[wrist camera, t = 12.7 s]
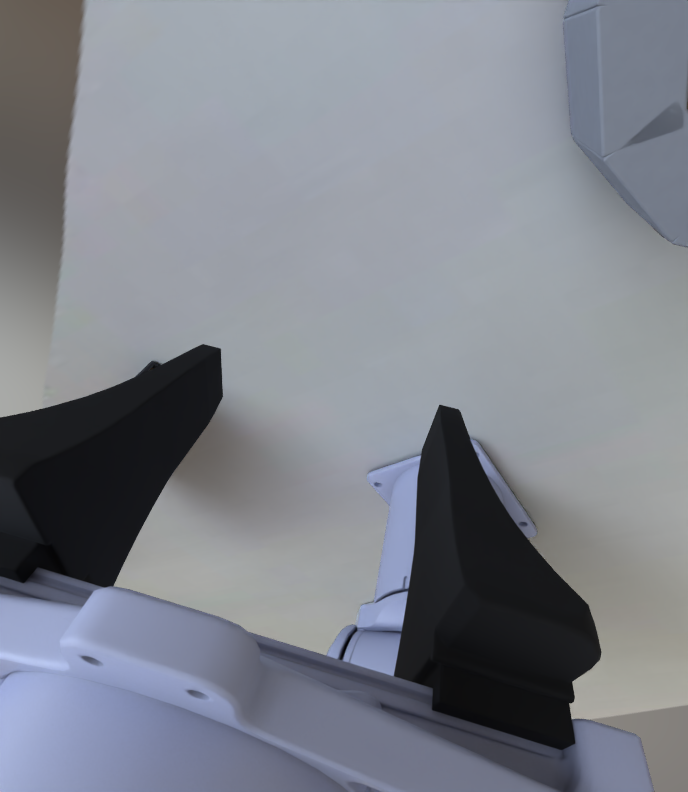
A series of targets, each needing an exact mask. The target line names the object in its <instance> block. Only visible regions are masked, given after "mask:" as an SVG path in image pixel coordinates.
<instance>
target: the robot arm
mask: <svg viewBox="0 0 688 792" xmlns="http://www.w3.org/2000/svg"><path fill="white" fill-rule="evenodd" d="M222 397H223V390H222V368H221V349H220V348H216V347H212V346H208V345H204V344H202V345H200V346H198V347H196V348H194V349H192V350H190V351H188V352H186V353H184V354H182V355H180V356H178V357H176V358H174V359H172V360H170V361H168V362H166V363H164V364H162V365H160V366H158V367H156V368H154V369H152V370H150V371H148V372H146V373H143V374H141V375H139V376H137V377H134V378H132V379H130V380H128V381H125V382H123V383H121V384H119V385H116V386H114V387H111V388H108V389H106V390H103V391H100V392H97V393H95V394H92V395H89V396H86V397H83V398H80V399H76V400H73V401H69V402H66V403H62V404H58V405H55V406H51V407H48V408H44V409H39V410H35V411H31V412H26V413H22V414H17V415H12V416H7V417H1V418H0V792H654V788H653V784H652V781H651V777H650V773H649V769H648V765H647V761H646V758H645V753H644V750H643V746H642V742H641V738H640V737H638V736H637V735H636V734H634V733H631V732H628V731H625V730H621V729H618V728H615V727H611V726H608V725H605V724H602V723H598V722H595V721H591V720H586V719H571V713H570V707H569V703H572V702H574V698H575V696H574V691H573V685H572V681H574V680H575V679H577V678H578V677H580V676H581V675H583V674H584V673H585V672H587V671H588V670H590V669H591V668H592V667H593V666H594V665H595V664H596V663H597V662H598V661H599V660H600V657H601V648H600V644H599V639H598V635H597V631H596V627H595V623H594V621H593V618H592V615H591V612H590V609H589V605H588V604H587V603H586V602H585V601H584V600H583V599H582V598H581V597H580V596H579V595H578V594H577V593H576V592H575V591H574V590H573V589H572V588H571V587H570V586H569V585H568V584H567V583H566V582H565V581H564V580H563V579H562V578H561V577H560V576H559V575H558V574H557V573H556V572H555V571H554V570H553V568H552V567H551V566H550V565H549V564H548V563H547V562H546V561H545V559H544V558H543V557H542V556H541V555H540V554H539V552H538V551H537V550H536V549H535V548H534V546H533V545H532V544H531V543H530V541H529V540H528V539H527V538H530V537H534V536H536V535H537V528H536V526H535V525H534V523H533V522H532V520H531V519H530V518H529V516H528V515H527V513H526V512H525V510H524V509H523V507H522V506H521V504H520V503H519V501H518V500H517V498H516V497H515V495H514V494H513V493H512V491H511V490H510V488H509V487H508V485H507V484H506V482H505V481H504V479H503V478H502V476H501V475H500V473H499V472H498V471H497V469H496V468H495V466H494V465H493V463H492V462H491V460H490V459H489V457H488V456H487V454H486V453H485V451H484V450H483V448H482V447H481V446H480V444H479V443H478V442H477V441H476V440H472V439H470V437H469V434H468V432H467V429H466V426H465V424H464V421H463V418H462V415H461V412H460V411H459V410H458V409H455V408H451V407H447V406H443V405H439V407H438V410H437V412H436V415H435V418H434V420H433V423H432V425H431V428H430V430H429V433H428V436H427V438H426V441H425V443H424V446H423V449H422V453H421V455H419V456H416V457H413V458H410V459H407V460H404V461H401V462H398V463H395V464H392V465H389V466H386V467H383V468H380V469H377V470H374V471H371V472H369V473H368V475H367V481H368V482H369V483H370V484H371V485H372V487H373V488H374V489H375V490H376V491H377V492H378V493H379V494H380V496H381V497H382V498H383V499H384V500H385V501H386V502H387V504H388V505H389V506H390V508H389V514H388V520H387V526H386V532H385V538H384V544H383V550H382V556H381V562H380V568H379V574H378V580H377V586H376V592H375V598H374V603H373V604H362V605H361V608H360V614H359V619H358V624H357V625H353V624H352V625H349V626H346V627H345V628H344V629H342V631H341V632H340V633H339V634H338V636H337V637H336V639H335V641H334V642H333V644H332V645H331V647H330V648H329V650H328V653H327V655H322V654H319V653H316V652H313V651H309V650H306V649H303V648H300V647H296V646H293V645H290V644H286V643H283V642H280V641H277V640H273V639H270V638H267V637H264V636H260V635H257V634H254V633H251V632H248V631H246V630H245V629H244V628H242V627H241V626H240V625H237V624H235V623H233V622H230V621H228V620H226V619H223V618H221V617H218V616H215V615H211V614H208V613H205V612H202V611H198V610H195V609H192V608H188V607H185V606H182V605H179V604H175V603H172V602H169V601H166V600H162V599H159V598H156V597H152V596H149V595H146V594H143V593H139V592H136V591H133V590H129V589H125V588H119V587H114V583H115V581H116V579H117V577H118V575H119V573H120V570H121V568H122V566H123V564H124V562H125V560H126V558H127V556H128V554H129V552H130V550H131V548H132V546H133V544H134V542H135V540H136V538H137V536H138V534H139V532H140V530H141V528H142V526H143V524H144V522H145V520H146V519H147V517H148V515H149V513H150V511H151V509H152V507H153V506H154V504H155V502H156V500H157V499H158V497H159V495H160V493H161V492H162V490H163V488H164V486H165V484H166V483H167V481H168V480H169V478H170V477H171V475H172V474H173V472H174V471H175V469H176V468H177V467H178V465H179V464H180V462H181V461H182V460H183V458H184V457H185V456H186V454H187V453H188V451H189V450H190V449H191V447H192V446H193V445H194V443H195V442H196V440H197V439H198V438H199V436H200V435H201V433H202V432H203V431H204V429H205V428H206V426H207V425H208V424H209V422H210V420H211V419H212V417H213V415H214V413H215V411H216V409H217V407H218V405H219V403H220V401H221V399H222ZM476 452H478V453H476ZM377 482H379V483H377Z"/></svg>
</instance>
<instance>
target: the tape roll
mask: <svg viewBox="0 0 688 792" xmlns="http://www.w3.org/2000/svg"><path fill="white" fill-rule="evenodd" d="M563 18H564V21H563V29H564V43H565V56H566V70H567V84H568V97H569V111H570V125H571V134H572V136H573V140H574V141H575V142H576V143H577V144H578V146H579V147H580V148H581V149H582V150H583V152H584V153H585V154H586V155H587V156H588V158H589V159H590V160H591V161H592V162H593V164H594V165H595V166H596V167H597V168H598V170H599V171H600V172H601V173H602V174H603V176H604V177H605V178H606V179H607V180H608V182H609V183H610V184H611V185H612V186H613V188H614V189H615V190H616V191H617V192H618V194H619V195H620V196H621V197H622V198H623V200H624V201H625V202H626V203H627V204H628V205H629V206H630V207H631V208H632V209H633V210H635V211H636V212H637V213H638V214H639V215H640V216H641V217H642V218H643V219H645V220H646V221H647V222H648V223H649V224H650V225H651V226H652V227H653V228H655V229H656V230H657V231H658V232H659V233H660V234H661V235H662V236H663V237H665V238H666V239H667V240H668V241H670V242H671V243H673V244H675V245H679V246H684V247H688V0H569V2H568V5H567V8H566V11H565V13H564V16H563Z"/></svg>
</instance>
